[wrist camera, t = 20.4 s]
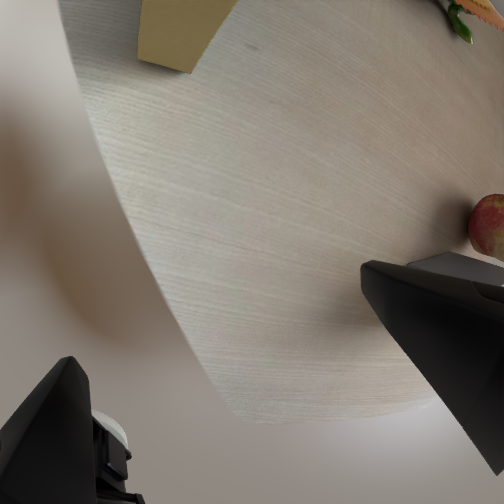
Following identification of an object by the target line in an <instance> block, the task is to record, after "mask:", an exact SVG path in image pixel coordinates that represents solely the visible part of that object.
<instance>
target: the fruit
mask: <svg viewBox="0 0 504 504" xmlns="http://www.w3.org/2000/svg"><path fill="white" fill-rule="evenodd" d="M468 233H469V239H470V242H471V244H472V246H473V248H474V249H475V251H477V252H479V253H481V254H484V255H487V256H491V257H495V258H497V259H499V260H500V261H503V262H504V195H503V194H493V195H489V196H486V197H484V198H482V199H481V200H480V201H479V202H478V204H477V205H476V206H475V208H474V209H473V211H472V213H471V216H470V218H469V222H468Z"/></svg>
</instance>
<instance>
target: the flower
mask: <svg viewBox="0 0 504 504" xmlns="http://www.w3.org/2000/svg"><path fill="white" fill-rule="evenodd" d="M447 1H448V2H449V6H448V9H447V13H448V16H449V18H450V19H451V21H452V22H453V27H452V29H453V30H454V31H455V32H456V33H457V34H458V35H459V36H460V37H461V38H462V39H463V40H465V41H466V42H468V43H470V44H473V35H472V31H471V30H470V28H469V27H468V26H467V25H466V24H465V23H464V22H463V21H462V20H461V19H460V17H459V13H460V12H465V13H466V14H470V15H477V16H478V18H479V19H480V16H481V17H482V19H483V20H484V21H485V22H486V20H487V21H488V22H489V24H490V25H491V26H492V23H493V25H494V26H495V27H496V28H497V29H498V27H499V28H500V29H501V30H502V31H503V29H504V18H503V17H502V16H501V15H500V14H499V13H498V12H497V11H496V10H495V9H494V7H493V5H492V4H491V3H490V2H489V0H447ZM502 28H503V29H502Z"/></svg>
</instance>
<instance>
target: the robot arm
mask: <svg viewBox="0 0 504 504" xmlns="http://www.w3.org/2000/svg"><path fill="white" fill-rule="evenodd" d="M360 273H361V290H362V293H363V295H364V296H365V298H366V299H367V301H368V302H369V304H370V305H371V307H372V308H373V310H374V311H375V313H376V314H377V316H378V317H379V319H380V321H381V322H382V324H383V325H384V327H385V328H386V329H387V331H388V332H389V333H390V335H391V336H392V337H393V338H394V339H395V341H396V342H397V343H398V344H399V346H400V347H401V348H402V349H403V351H404V352H405V353H406V354H407V356H408V357H409V358H410V359H411V361H412V362H413V363H414V364H415V366H416V367H417V368H418V369H419V371H420V372H421V373H422V375H423V376H424V377H425V378H426V380H427V381H428V382H429V384H430V385H431V386H432V387H433V389H434V390H435V391H436V393H437V394H438V395H439V397H440V398H441V399H442V401H443V402H444V403H445V405H446V406H447V407H448V409H449V410H450V411H451V412H452V414H453V415H454V417H455V418H456V419H457V421H458V422H459V424H460V425H461V426H462V427H463V429H464V431H465V432H466V433H467V435H468V436H469V437H470V439H471V440H472V442H473V443H474V445H475V446H476V448H477V449H478V450H479V452H480V453H481V455H482V456H483V457H484V459H485V460H486V462H487V463H488V465H489V466H490V468H491V469H492V471H493V472H494V473H495V475H496V476H498V475H499V474H500V473H501V472H502V471H503V470H504V287H503V286H497V285H492V284H486V283H482V282H477V281H471V280H467V279H463V278H458V277H453V276H449V275H444V274H439V273H434V272H430V271H425V270H420V269H415V268H410V267H405V266H400V265H396V264H391V263H386V262H381V261H376V260H371V261H368V262H366V263H363V264H362V265H361V268H360ZM130 459H131V453H130V452H129V451H128V450H127V449H126V448H125V446H124V445H123V444H122V443H121V442H120V441H119V440H118V439H117V438H116V437H115V436H114V435H113V434H112V433H111V432H110V431H108V430H106V429H105V428H104V427H103V426H102V425H101V424H100V423H99V422H98V421H97V420H96V418H95V417H94V416H92V412H91V403H90V390H89V380H88V377H87V375H86V373H85V372H84V370H83V369H82V367H81V366H80V364H79V363H78V362H77V360H76V359H75V358H74V357H73V356H68V357H64V358H61V359H60V360H59V361H58V362H57V363H56V365H54V367H53V368H52V369H51V370H50V371H49V372H48V373H47V375H46V376H45V377H44V378H43V379H42V380H41V381H40V383H39V384H38V385H37V386H36V387H35V388H34V390H33V391H32V392H31V393H30V394H29V395H28V397H27V398H26V399H25V400H24V401H23V403H22V404H21V405H20V406H19V407H18V409H17V410H16V411H15V412H14V413H13V415H12V416H11V417H10V418H9V420H8V421H7V422H6V423H5V425H4V426H3V427H2V428H1V430H0V504H145V502H144V500H143V497H142V495H141V494H137V493H135V494H131V493H126V489H125V481H124V480H127V479H128V473H127V464H126V461H127V460H130Z"/></svg>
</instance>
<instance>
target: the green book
mask: <svg viewBox="0 0 504 504" xmlns="http://www.w3.org/2000/svg"><path fill="white" fill-rule="evenodd" d="M238 1H239V0H142V6H141V15H140V26H139V37H138V51H137V59H139V60H143V61H147V62H151V63H154V64H158V65H162V66H165V67H169V68H172V69H176V70H179V71H182V72H186V73H189V74H191V73H192V71H193V69H194V68H195V66H196V64H197V63H198V61H199V59H200V58H201V56H202V54H203V53H204V51H205V50H206V48H207V46H208V45H209V43H210V42H211V40H212V39H213V37H214V35H215V34H216V32H217V31H218V29H219V28H220V26H221V25H222V23H223V22H224V20H225V19H226V18H227V16H228V15H229V13H230V12H231V10H232V9H233V8H234V6H235V5H236V3H237V2H238Z"/></svg>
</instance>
